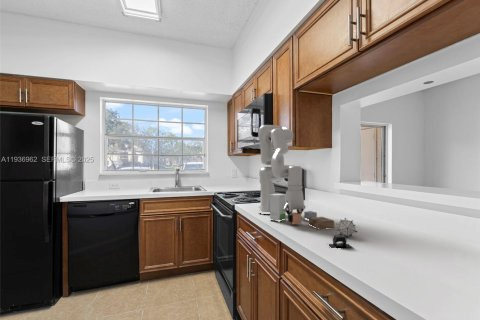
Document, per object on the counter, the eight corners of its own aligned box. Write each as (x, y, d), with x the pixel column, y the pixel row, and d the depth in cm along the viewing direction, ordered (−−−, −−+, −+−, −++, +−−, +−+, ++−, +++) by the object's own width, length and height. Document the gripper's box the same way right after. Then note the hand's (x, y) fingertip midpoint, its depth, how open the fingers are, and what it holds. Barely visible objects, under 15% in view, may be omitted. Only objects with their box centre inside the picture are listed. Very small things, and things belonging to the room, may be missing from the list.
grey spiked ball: (344, 245, 103) (332, 228, 102) (341, 233, 111) (330, 217, 110) (363, 238, 99) (351, 220, 98) (359, 226, 107) (348, 210, 106)
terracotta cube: (287, 222, 126) (287, 212, 126) (295, 221, 128) (295, 212, 128) (293, 224, 121) (293, 214, 121) (301, 223, 124) (301, 214, 124)
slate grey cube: (304, 220, 137) (304, 211, 137) (310, 219, 139) (310, 211, 139) (310, 221, 132) (310, 213, 133) (316, 221, 135) (316, 212, 135)
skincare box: (279, 222, 130) (279, 195, 130) (269, 220, 134) (269, 194, 134) (286, 220, 136) (286, 193, 137) (276, 218, 140) (276, 193, 141)
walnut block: (308, 226, 123) (308, 217, 123) (322, 224, 126) (322, 216, 126) (319, 230, 115) (319, 221, 115) (334, 229, 118) (334, 220, 118)
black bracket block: (350, 244, 95) (350, 233, 95) (360, 251, 88) (359, 239, 88) (320, 244, 95) (320, 233, 95) (328, 251, 87) (328, 239, 88)
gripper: (302, 187, 132) (301, 218, 132) (277, 188, 124) (277, 221, 124) (311, 188, 125) (311, 221, 125) (286, 189, 118) (286, 225, 117)
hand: (294, 221), depth 125 cm, fingers closed on terracotta cube, 5 cm apart
